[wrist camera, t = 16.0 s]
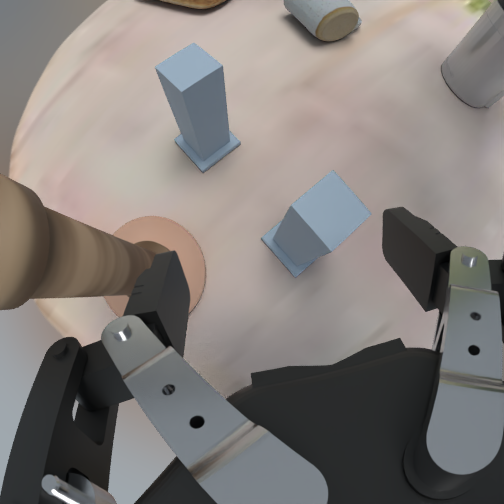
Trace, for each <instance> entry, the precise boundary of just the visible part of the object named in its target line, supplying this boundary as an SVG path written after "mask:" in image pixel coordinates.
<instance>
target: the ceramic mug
mask: <svg viewBox="0 0 504 504" xmlns="http://www.w3.org/2000/svg"><path fill="white" fill-rule="evenodd" d="M284 5H285V7H286V9H287V10H288V11H289V12H291V13H292V14H293V15H294V16H295V17H296V18H297V19H298V20H299V21H300V22H301V23H302V24H303V25H304V26H305V27H306V28H307V29H308V30H309V31H310V32H311V33H312V34H313V35H314V36H315V37H317V38H318V39H320V40H322V41H335V40H338V39H340V38H343V37H344V36H346V35H347V34H349V33H350V32H351V31H352V30H353V29H357V28H358V27H359V26H360V24H361V23H362V21H361V19H360V18H359V15H358V12H357V10H356V9H355V7H354V6H353V4H352V3H351V2H350V1H349V0H284Z"/></svg>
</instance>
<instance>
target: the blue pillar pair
mask: <svg viewBox="0 0 504 504" xmlns="http://www.w3.org/2000/svg"><path fill="white" fill-rule="evenodd" d="M155 69H156V72H157V74H158V77H159V79H160V82H161V84H162V87H163V89H164V92H165V94H166V97H167V99H168V102H169V104H170V107H171V109H172V112H173V114H174V117H175V119H176V122H177V124H178V127H179V129H180V132H181V134H180V135H179V136H178V137H177V138H175V139H174V140H175V142H176V143H177V144H178V145H179V147H180V148H181V149H182V150H183V151H184V152H185V153H186V154H187V155H188V157H189V158H190V159H191V160H192V161H193V162H194V163H195V164H196V166H197V167H198V168H199V169H200V170H201V171H202V172H203V173H204V172H205V171H206V170H208V169H209V168H210V167H211V166H213V165H214V164H215V163H217V162H218V161H219V160H220V159H222V158H223V157H224V156H226V155H227V154H228V153H230V152H231V151H232V150H233V149H235V148H236V147H237V146H239V145H240V141H239V140H238V139H237V138H236V137H235V136H234V135H233V134H232V133H231V132H230V131H229V124H228V114H227V104H226V94H225V83H224V73H223V65H222V64H220V63H219V62H218V61H217V60H215V59H214V58H213V57H212V56H210V55H209V54H208V53H207V52H205V51H204V50H203V49H202V48H200V47H199V46H198V45H196V44H195V43H192V44H191V45H189V46H187V47H186V48H184V49H182V50H181V51H179V52H177V53H176V54H174V55H173V56H171V57H169V58H168V59H166V60H165V61H163V62H162V63H160V64H159V65H157V66H156V67H155ZM370 215H371V212H370V211H369V210H368V209H367V208H366V207H365V205H364V204H363V203H362V202H361V201H360V200H359V198H358V197H357V196H356V195H355V194H354V193H353V191H352V190H351V189H350V188H349V187H348V186H347V185H346V184H345V182H344V181H343V180H342V179H341V178H340V177H339V176H338V175H337V174H336V173H335V171H334V170H332V171H331V172H330V173H329V174H328V175H326V176H325V177H324V178H323V179H322V180H320V181H319V182H318V183H317V184H316V185H314V186H313V187H312V188H311V189H310V190H308V191H307V192H306V193H305V194H304V195H302V196H301V197H300V198H299V199H298V200H297V201H295V202H294V203H293V204H292V205H291V206H290V208H289V210H288V211H287V213H286V215H285V217H284V219H283V220H282V221H280V222H279V223H278V224H277V225H276V226H275V227H273V228H272V229H271V230H270V231H269V232H267V233H266V234H265V235H264V236H263V237H262V238H261V239H262V240H263V241H264V243H265V244H266V245H267V246H268V247H269V248H270V249H271V251H272V252H273V253H274V254H275V255H276V256H277V258H278V259H279V260H280V261H281V262H282V263H283V264H284V266H285V267H286V268H287V269H288V270H289V271H290V273H291V274H292V275H293V276H294V277H297V276H298V275H299V274H300V273H301V272H303V271H304V270H305V269H306V268H307V267H308V266H309V265H310V264H311V263H313V262H314V261H315V260H316V259H317V258H318V257H320V256H323V255H325V254H328V253H330V252H332V251H333V250H334V249H335V248H336V247H337V246H338V245H340V244H341V243H342V242H343V241H344V240H345V239H346V238H347V237H348V236H349V235H350V234H351V233H352V232H353V231H354V230H355V229H356V228H358V227H359V226H360V225H361V224H362V223H363V222H364V221H365V220H366V219H367V218H368V217H369V216H370Z"/></svg>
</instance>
